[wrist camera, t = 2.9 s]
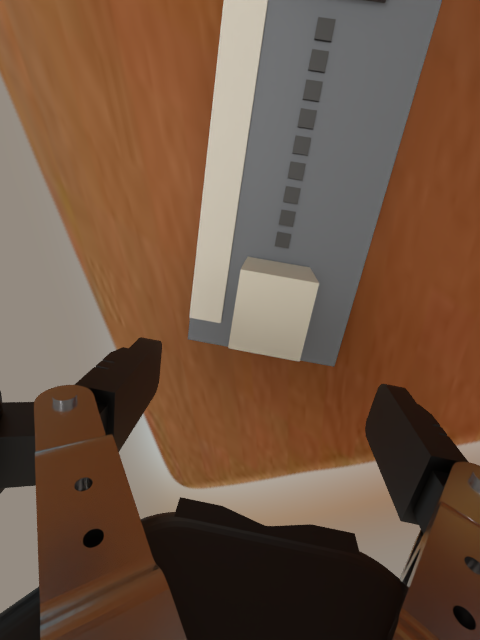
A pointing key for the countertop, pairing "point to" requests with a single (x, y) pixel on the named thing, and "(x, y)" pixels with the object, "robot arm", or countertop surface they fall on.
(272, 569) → the robot arm
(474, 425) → the countertop surface
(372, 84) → the board
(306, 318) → the tab
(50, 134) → the countertop surface
